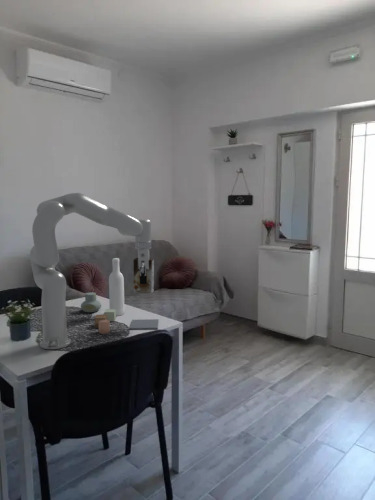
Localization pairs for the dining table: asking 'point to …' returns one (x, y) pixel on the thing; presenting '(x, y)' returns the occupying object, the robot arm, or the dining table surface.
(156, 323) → the slate mat
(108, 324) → the terracotta cylinder
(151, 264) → the coffee box
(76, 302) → the dining table surface
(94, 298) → the air freshener
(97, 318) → the walnut block
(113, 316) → the sage block
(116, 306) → the bottle
